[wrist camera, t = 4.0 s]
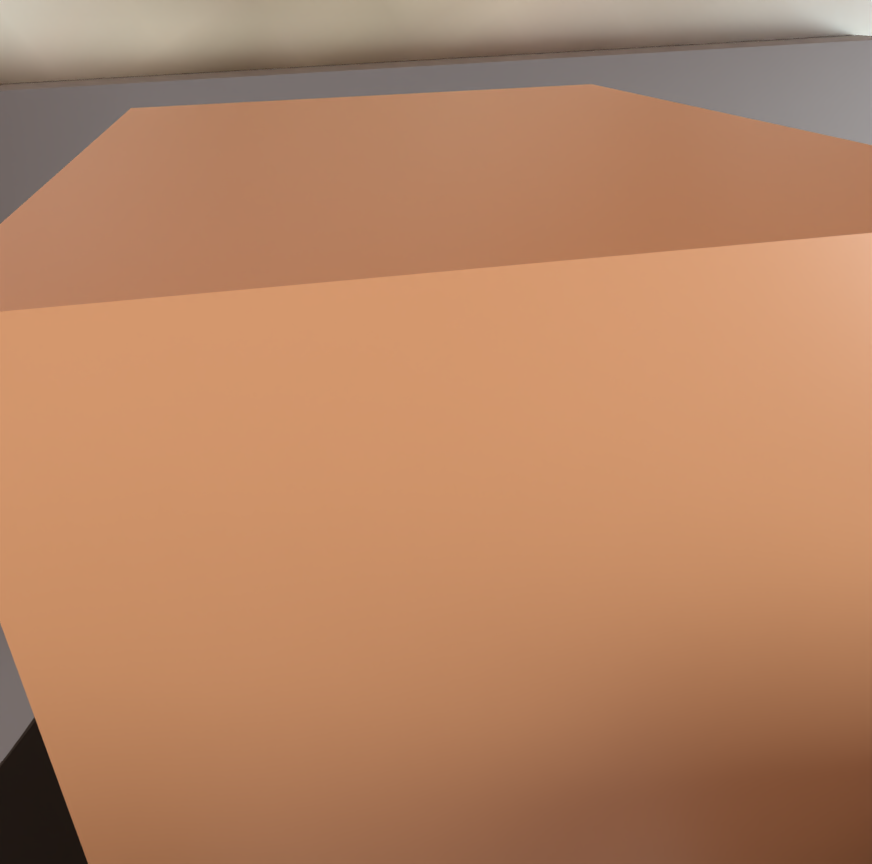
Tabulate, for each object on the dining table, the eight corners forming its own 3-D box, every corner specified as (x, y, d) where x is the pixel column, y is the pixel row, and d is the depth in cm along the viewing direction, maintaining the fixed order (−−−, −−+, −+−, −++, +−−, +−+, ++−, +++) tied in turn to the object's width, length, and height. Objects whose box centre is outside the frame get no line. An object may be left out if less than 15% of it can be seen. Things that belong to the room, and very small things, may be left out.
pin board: (857, 35, 16) (1069, 50, 12) (739, 647, 23) (842, 783, 19) (-296, 101, 13) (-555, 152, 8) (6, 785, 20) (-53, 983, 16)
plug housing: (591, 83, 8) (1156, 207, 3) (554, 735, 13) (764, 1227, 8) (130, 107, 8) (-110, 318, 2) (262, 793, 12) (277, 1381, 7)
